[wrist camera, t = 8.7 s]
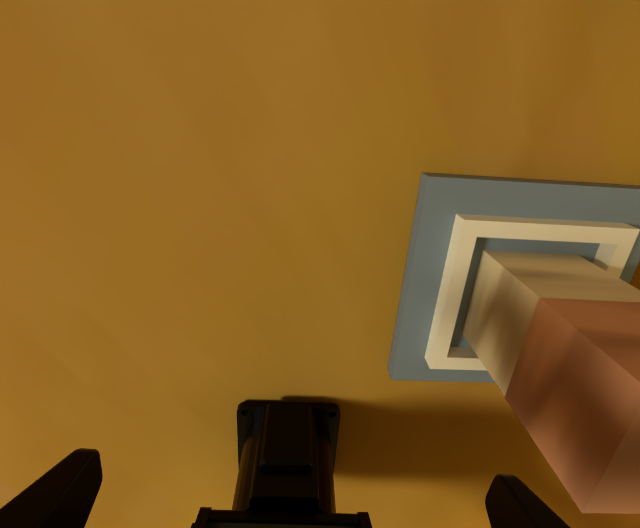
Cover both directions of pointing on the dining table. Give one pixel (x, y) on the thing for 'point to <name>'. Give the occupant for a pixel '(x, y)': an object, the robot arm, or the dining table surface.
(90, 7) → the dining table surface
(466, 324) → the base block
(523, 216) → the board
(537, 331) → the top block
